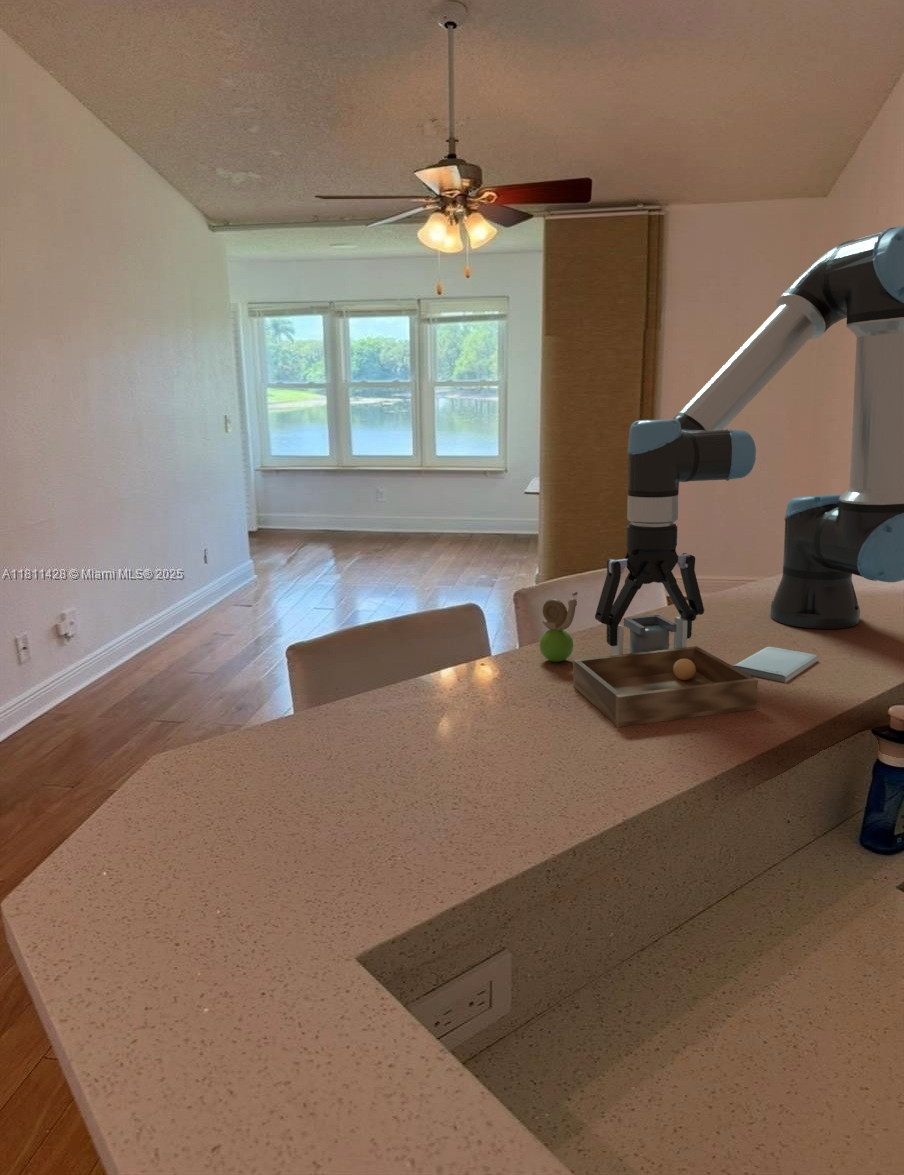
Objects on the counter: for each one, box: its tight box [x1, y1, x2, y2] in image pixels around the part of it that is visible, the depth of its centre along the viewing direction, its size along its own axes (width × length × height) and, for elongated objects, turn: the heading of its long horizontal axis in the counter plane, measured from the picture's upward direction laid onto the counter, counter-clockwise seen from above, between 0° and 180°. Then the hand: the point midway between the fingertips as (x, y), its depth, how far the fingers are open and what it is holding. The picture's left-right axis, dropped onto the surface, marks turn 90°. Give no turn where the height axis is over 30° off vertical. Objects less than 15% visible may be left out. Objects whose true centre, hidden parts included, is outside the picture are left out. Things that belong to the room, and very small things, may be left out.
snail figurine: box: [539, 591, 578, 663], centre depth 128 cm, size 5×6×12 cm
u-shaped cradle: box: [623, 614, 677, 654], centre depth 125 cm, size 6×6×7 cm
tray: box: [572, 645, 759, 728], centre depth 112 cm, size 20×16×4 cm
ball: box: [673, 659, 696, 680], centre depth 117 cm, size 3×3×3 cm
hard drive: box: [732, 646, 818, 683], centre depth 123 cm, size 2×8×12 cm
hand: (648, 661), depth 126 cm, fingers open, 10 cm apart
